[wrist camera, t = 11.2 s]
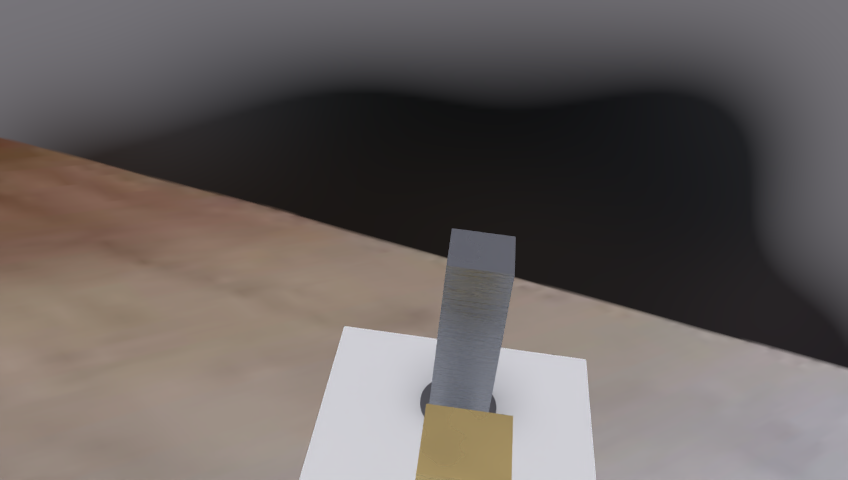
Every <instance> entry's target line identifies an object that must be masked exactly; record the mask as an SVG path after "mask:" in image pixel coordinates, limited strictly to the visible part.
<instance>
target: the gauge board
mask: <svg viewBox="0 0 848 480" xmlns="http://www.w3.org/2000/svg"><path fill="white" fill-rule="evenodd" d="M436 345H437V339H434V338H427V337H419V336H412V335H405V334H398V333H391V332H383V331H376V330H369V329H362V328H354V327H347V326H344V329H343V332H342V336H341V339H340V342H339V346H338V349H337V353H336V356H335V359H334V363H333V366H332V370H331V373H330V376H329V380H328V383H327V387H326V390H325V393H324V397H323V400H322V404H321V407H320V411H319V414H318V417H317V421H316V424H315V428H314V431H313V434H312V438H311V441H310V445H309V448H308V451H307V455H306V458H305V462H304V465H303V468H302V472H301V475H300V479H299V480H415V478H416V471H417V464H418V457H419V450H420V443H421V436H422V429H423V423H424V416H425V409H426V404H429V400H430V392H431V385H432V377H433V369H434V361H435V353H436ZM489 412H490V413H497V414H504V415H511V416H513V444H512V480H596V473H595V461H594V449H593V437H592V425H591V413H590V402H589V390H588V378H587V366H586V359H579V358H571V357H564V356H557V355H550V354H543V353H535V352H528V351H521V350H514V349H506V348H501V350H500V355H499V360H498V366H497V371H496V376H495V382H494V387H493V392H492V397H491V403H490V408H489Z"/></svg>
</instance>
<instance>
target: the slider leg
mask: <svg viewBox="0 0 848 480" xmlns="http://www.w3.org/2000/svg"><path fill="white" fill-rule="evenodd" d="M512 444H513V416H511V415H504V414H497V413H490V412H483V411H475V410H468V409H461V408H454V407H447V406H440V405H433V404H426V409H425V416H424V423H423V429H422V436H421V443H420V450H419V457H418V464H417V471H416V478H415V480H512Z"/></svg>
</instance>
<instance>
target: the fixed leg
mask: <svg viewBox="0 0 848 480" xmlns="http://www.w3.org/2000/svg"><path fill="white" fill-rule="evenodd" d="M514 275H515V237H513V236H505V235H498V234H490V233H483V232H475V231H468V230H460V229H452V232H451V239H450V246H449V253H448V260H447V267H446V274H445V282H444V290H443V298H442V306H441V314H440V322H439V330H438V337H437V345H436V353H435V361H434V369H433V377H432V385H431V392H430V400H429V404H433V405H440V406H447V407H454V408H461V409H468V410H475V411H483V412H489V408H490V403H491V397H492V392H493V387H494V382H495V376H496V371H497V366H498V360H499V355H500V350H501V344H502V339H503V334H504V328H505V323H506V318H507V312H508V307H509V302H510V296H511V291H512V286H513V281H514Z"/></svg>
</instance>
